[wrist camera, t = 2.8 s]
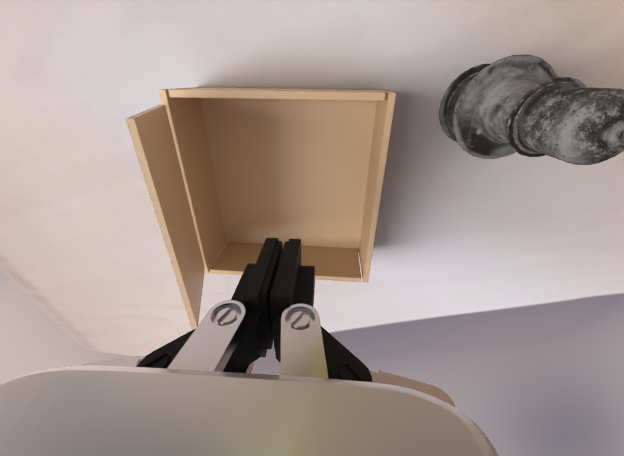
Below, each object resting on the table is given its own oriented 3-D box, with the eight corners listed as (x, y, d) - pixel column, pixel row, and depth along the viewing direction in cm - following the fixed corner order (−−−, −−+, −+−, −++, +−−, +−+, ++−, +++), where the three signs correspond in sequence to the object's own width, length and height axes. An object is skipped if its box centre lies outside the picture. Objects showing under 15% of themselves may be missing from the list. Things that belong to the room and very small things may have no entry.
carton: (383, 89, 19) (398, 92, 15) (363, 249, 26) (369, 283, 22) (196, 87, 20) (158, 89, 16) (225, 242, 27) (204, 273, 23)
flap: (133, 118, 11) (125, 118, 10) (197, 328, 17) (192, 329, 17) (165, 104, 16) (159, 104, 16) (204, 267, 22) (200, 268, 22)
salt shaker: (530, 50, 17) (819, 8, 7) (513, 141, 20) (700, 206, 10) (437, 67, 18) (571, 53, 8) (432, 152, 21) (527, 223, 11)
